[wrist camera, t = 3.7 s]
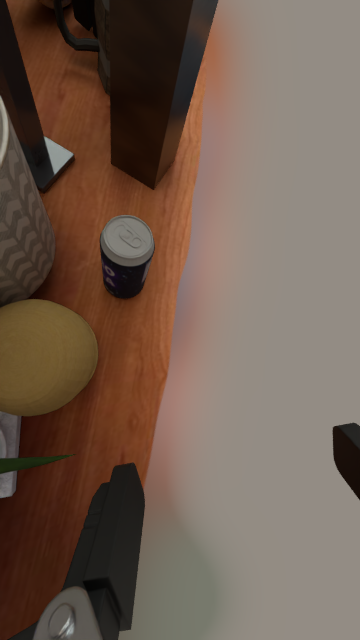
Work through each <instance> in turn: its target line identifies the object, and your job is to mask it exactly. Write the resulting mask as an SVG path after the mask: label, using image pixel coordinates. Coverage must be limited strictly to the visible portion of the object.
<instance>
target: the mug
mask: <svg viewBox="0 0 360 640" xmlns="http://www.w3.org/2000/svg"><path fill="white" fill-rule="evenodd" d="M53 4H54V10H55V14H56V19H57V24H58V27H59V29H60V31H61V33H62V36H63V38H64V40H65V42H66V43H67V44H69V45H70V46H71V47H73V48H74V49H75V50H76V51H93V52H98V68H97V70H98V73H99V76H100V78H101V81H102V83H103V86H104V89H105V91H106V93H107V94H109V95H110V30H109V0H95V3H94V12H95V20H96V28H97V36H98V40H97V39H90V38H82V39H77V38H76V37H74V36H73V35H72V34H71V33H70V32H69V30H68V28H67V25H66V23H65V20H64V15H63V9H62V3H61V0H53Z"/></svg>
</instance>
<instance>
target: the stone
mask: <svg viewBox="0 0 360 640" xmlns="http://www.w3.org/2000/svg"><path fill="white" fill-rule="evenodd" d="M39 1H40V2H41V3H42V4H43V5H45V6H46V7H48V8H50V9H54V4H53V0H39ZM71 2H72V0H61V3H62V8H63V7H65V6H67V5H69V4H70V3H71Z"/></svg>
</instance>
